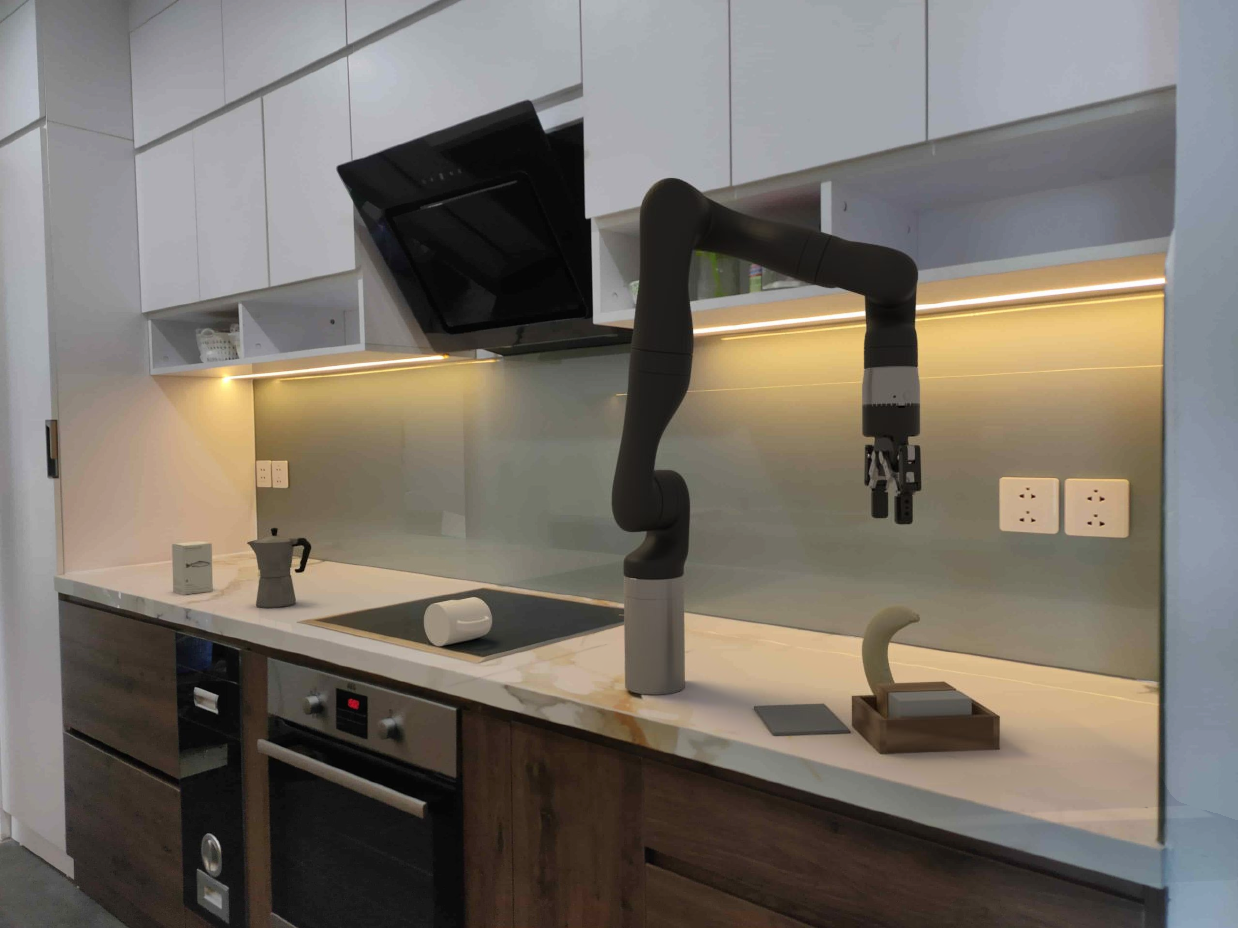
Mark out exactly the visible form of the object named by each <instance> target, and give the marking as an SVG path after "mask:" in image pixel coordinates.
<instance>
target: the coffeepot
mask: <svg viewBox="0 0 1238 928" xmlns="http://www.w3.org/2000/svg"><path fill="white" fill-rule="evenodd" d="M278 531H279V528H277V527H272V528H270V533H271V535H270V536H267V537H262V538H257V539H253V540H250V541H247V543H246V545H248V546H250V547H251V549H252V551H253V552H254V554H255V556H256V557H255V558H256V562H257V568H258V569H257V570H259V576H260V577H259V581H258V588H257V596H256V600H255V606H256V607H257V608H262V609H263V608H264V609H265V608H268V609H269V608H271V609H272V608H273V609H274V608H281V607H282V608H283V607H288V606H293V605H295V604H296V601H297V600H296V593H295V589H294V583H293V577H292V575H291V569H292V565H293V557H294V556H293V555H294V548H296V547H299V546H302V547H303V550H302V553H301V554H302V555H301V559H300V561H299V568H294V573H296V574H301V573H304V572H305V570H306V566H307V563H308V560H309V556H310V553H311V551H312V544H311V543H310V541H308V540H307V539H306V538H305V537H287V536H281V535H278Z"/></svg>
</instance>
